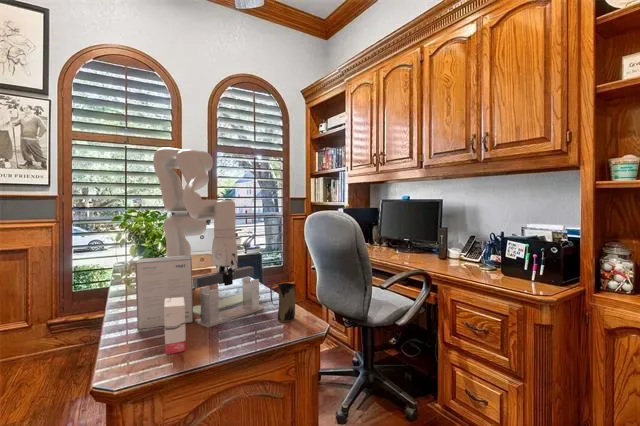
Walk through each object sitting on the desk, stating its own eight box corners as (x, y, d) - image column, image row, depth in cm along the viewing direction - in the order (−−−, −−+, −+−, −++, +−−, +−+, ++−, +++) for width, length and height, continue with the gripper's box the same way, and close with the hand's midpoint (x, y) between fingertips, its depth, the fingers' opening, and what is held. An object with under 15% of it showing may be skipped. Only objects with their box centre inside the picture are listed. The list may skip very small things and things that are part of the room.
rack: (194, 322, 101) (194, 288, 101) (251, 304, 118) (251, 275, 118) (207, 327, 97) (206, 292, 96) (264, 308, 114) (264, 278, 113)
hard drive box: (193, 314, 108) (192, 254, 107) (193, 322, 101) (192, 258, 100) (140, 320, 102) (138, 257, 102) (136, 330, 95) (134, 262, 94)
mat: (186, 310, 112) (186, 308, 112) (247, 293, 132) (247, 292, 132) (198, 315, 107) (198, 313, 107) (260, 297, 127) (260, 295, 127)
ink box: (186, 351, 82) (185, 305, 81) (164, 355, 80) (163, 307, 79) (184, 338, 90) (184, 295, 89) (165, 341, 88) (164, 297, 87)
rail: (192, 286, 111) (192, 277, 111) (249, 274, 130) (249, 266, 130) (197, 288, 109) (197, 278, 109) (254, 275, 128) (253, 267, 128)
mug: (291, 315, 108) (291, 279, 107) (297, 320, 103) (297, 283, 102) (268, 318, 105) (268, 281, 104) (273, 324, 99) (273, 285, 99)
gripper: (203, 233, 121) (203, 282, 122) (229, 236, 111) (230, 290, 111) (220, 232, 127) (221, 278, 128) (247, 234, 117) (247, 285, 117)
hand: (225, 283), depth 120 cm, fingers closed on rail, 3 cm apart
